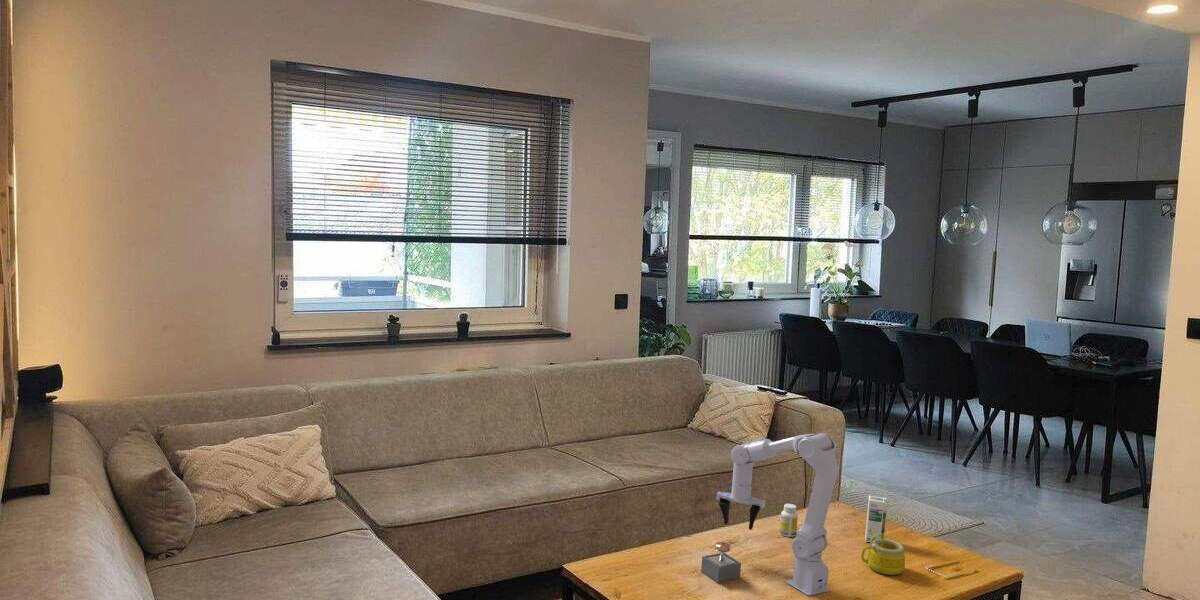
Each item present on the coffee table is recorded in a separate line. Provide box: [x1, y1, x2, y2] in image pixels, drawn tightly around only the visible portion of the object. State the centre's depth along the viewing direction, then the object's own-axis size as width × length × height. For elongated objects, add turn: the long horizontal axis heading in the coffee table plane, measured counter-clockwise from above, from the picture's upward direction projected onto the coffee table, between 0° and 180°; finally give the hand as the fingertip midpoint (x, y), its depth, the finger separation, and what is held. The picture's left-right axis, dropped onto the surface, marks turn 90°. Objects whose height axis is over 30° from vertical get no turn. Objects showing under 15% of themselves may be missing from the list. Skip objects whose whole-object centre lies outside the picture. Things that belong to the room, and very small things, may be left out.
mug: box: [860, 529, 906, 576], centre depth 256 cm, size 13×11×12 cm
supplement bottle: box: [779, 503, 799, 538], centre depth 280 cm, size 5×5×10 cm
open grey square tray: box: [700, 552, 742, 584], centre depth 245 cm, size 8×8×5 cm
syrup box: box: [864, 495, 888, 543], centre depth 278 cm, size 6×6×14 cm
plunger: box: [708, 541, 736, 566], centre depth 245 cm, size 6×6×5 cm
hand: (738, 526), depth 258 cm, fingers open, 7 cm apart
